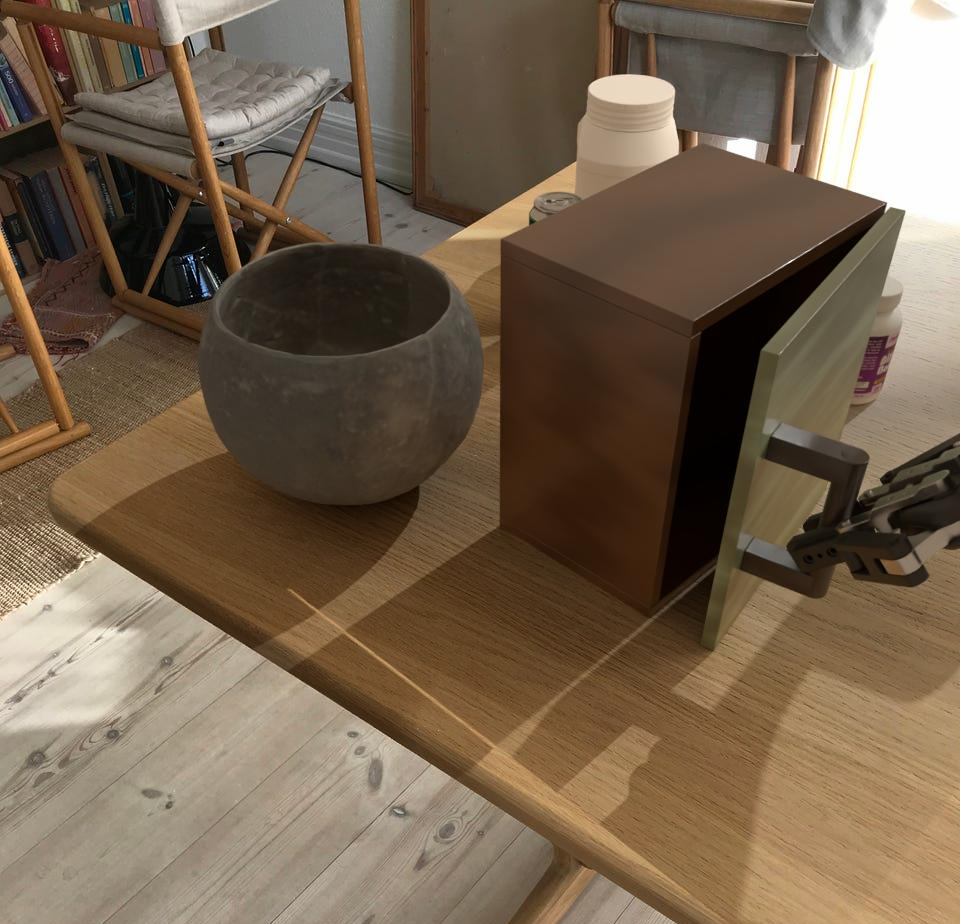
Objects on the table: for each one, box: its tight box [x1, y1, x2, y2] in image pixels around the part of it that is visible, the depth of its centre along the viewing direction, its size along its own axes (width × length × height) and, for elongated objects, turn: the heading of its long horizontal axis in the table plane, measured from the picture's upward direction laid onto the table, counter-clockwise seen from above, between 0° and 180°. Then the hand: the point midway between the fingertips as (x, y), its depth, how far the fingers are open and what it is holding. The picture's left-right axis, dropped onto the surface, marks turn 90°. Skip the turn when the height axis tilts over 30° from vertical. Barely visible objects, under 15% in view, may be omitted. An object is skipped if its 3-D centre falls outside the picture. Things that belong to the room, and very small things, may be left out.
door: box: [700, 206, 907, 652], centre depth 65 cm, size 6×20×22 cm, turn 146°
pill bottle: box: [850, 275, 905, 406], centre depth 86 cm, size 5×5×10 cm
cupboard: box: [499, 142, 888, 618], centre depth 71 cm, size 14×20×22 cm
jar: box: [574, 73, 680, 200], centre depth 104 cm, size 12×10×15 cm
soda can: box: [528, 191, 583, 226], centre depth 92 cm, size 5×5×12 cm
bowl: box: [197, 241, 485, 506], centre depth 77 cm, size 20×20×15 cm
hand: (804, 545), depth 62 cm, fingers closed on door
